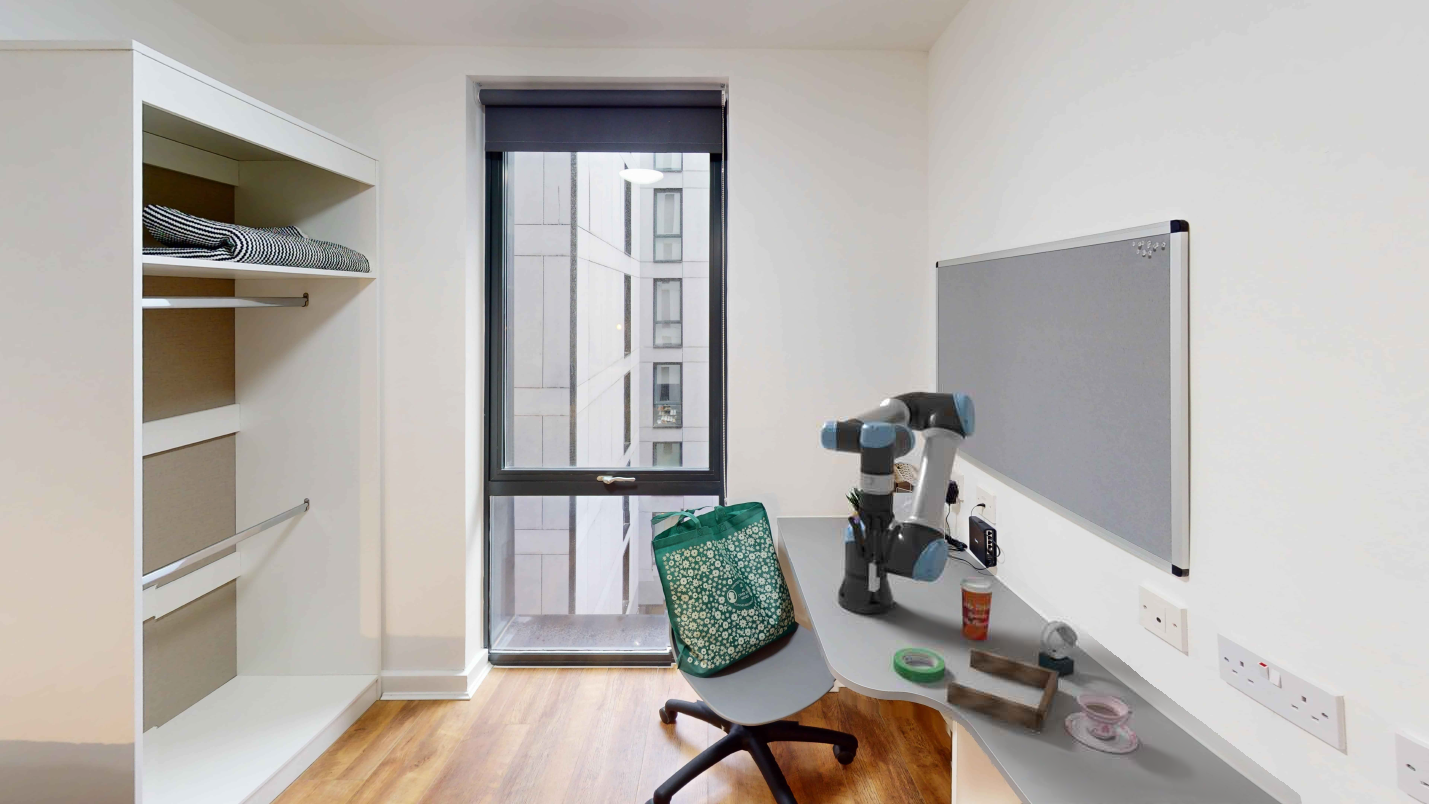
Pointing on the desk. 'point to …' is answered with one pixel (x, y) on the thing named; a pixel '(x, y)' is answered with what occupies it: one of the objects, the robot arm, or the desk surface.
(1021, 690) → the desk surface
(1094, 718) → the teacup
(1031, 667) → the u-shaped wooden frame
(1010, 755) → the desk surface
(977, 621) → the paper cup
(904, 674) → the tape roll
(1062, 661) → the watch
